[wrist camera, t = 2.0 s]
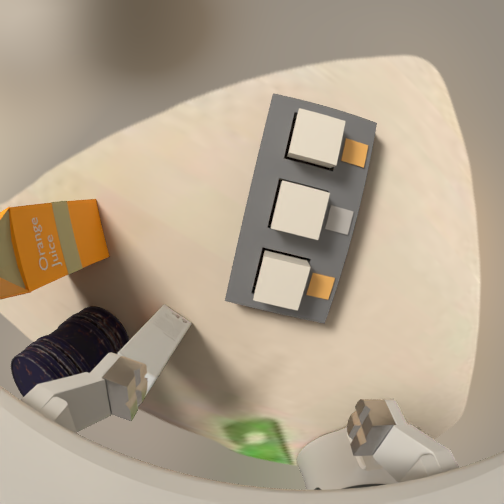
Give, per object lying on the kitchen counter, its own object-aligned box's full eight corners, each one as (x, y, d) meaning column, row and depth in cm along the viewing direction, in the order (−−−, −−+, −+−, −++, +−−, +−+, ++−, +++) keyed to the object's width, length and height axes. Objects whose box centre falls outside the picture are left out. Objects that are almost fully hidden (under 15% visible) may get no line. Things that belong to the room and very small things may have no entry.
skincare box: (163, 302, 33) (117, 350, 21) (193, 322, 33) (158, 379, 22) (144, 336, 34) (100, 388, 23) (171, 354, 35) (136, 412, 23)
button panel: (369, 127, 27) (377, 122, 25) (321, 314, 32) (324, 324, 29) (273, 101, 28) (273, 92, 25) (228, 292, 32) (224, 301, 30)
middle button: (324, 193, 27) (330, 192, 24) (313, 235, 28) (318, 240, 25) (281, 181, 27) (282, 180, 25) (271, 225, 28) (270, 228, 25)
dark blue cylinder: (84, 360, 36) (29, 413, 22) (69, 302, 35) (-1, 346, 20) (137, 370, 36) (87, 439, 21) (124, 308, 34) (55, 366, 19)
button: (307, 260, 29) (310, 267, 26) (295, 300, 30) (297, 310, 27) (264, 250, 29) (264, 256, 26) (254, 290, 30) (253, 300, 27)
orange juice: (110, 257, 33) (-13, 315, 13) (64, 269, 34) (-44, 320, 14) (96, 197, 31) (-38, 211, 12) (51, 215, 32) (-65, 239, 13)
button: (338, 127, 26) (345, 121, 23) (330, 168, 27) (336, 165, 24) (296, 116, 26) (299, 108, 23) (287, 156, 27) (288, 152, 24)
